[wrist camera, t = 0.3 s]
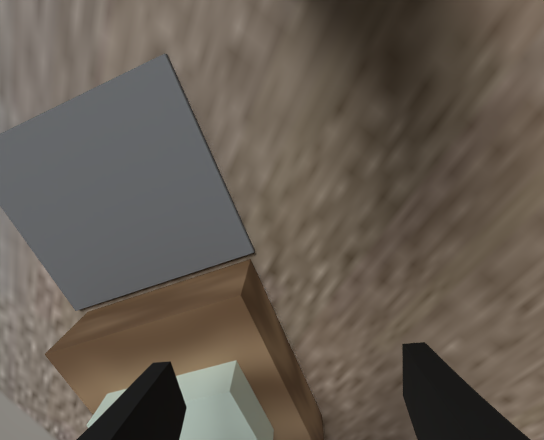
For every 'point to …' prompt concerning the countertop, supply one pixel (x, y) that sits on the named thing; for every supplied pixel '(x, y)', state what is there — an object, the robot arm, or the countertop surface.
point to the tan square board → (193, 345)
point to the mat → (119, 188)
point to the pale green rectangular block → (214, 406)
